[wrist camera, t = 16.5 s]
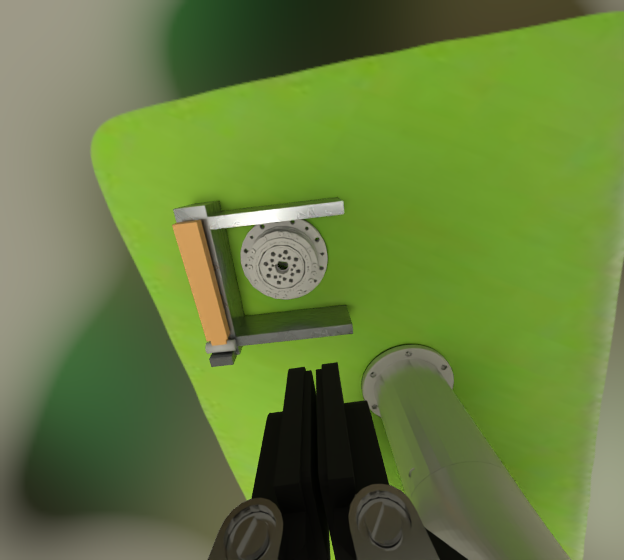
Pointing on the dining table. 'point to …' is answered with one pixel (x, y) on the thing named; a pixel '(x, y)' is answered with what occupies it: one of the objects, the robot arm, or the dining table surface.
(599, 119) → the dining table surface
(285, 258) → the mechanical component
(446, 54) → the dining table surface
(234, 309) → the bracket
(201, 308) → the bar
